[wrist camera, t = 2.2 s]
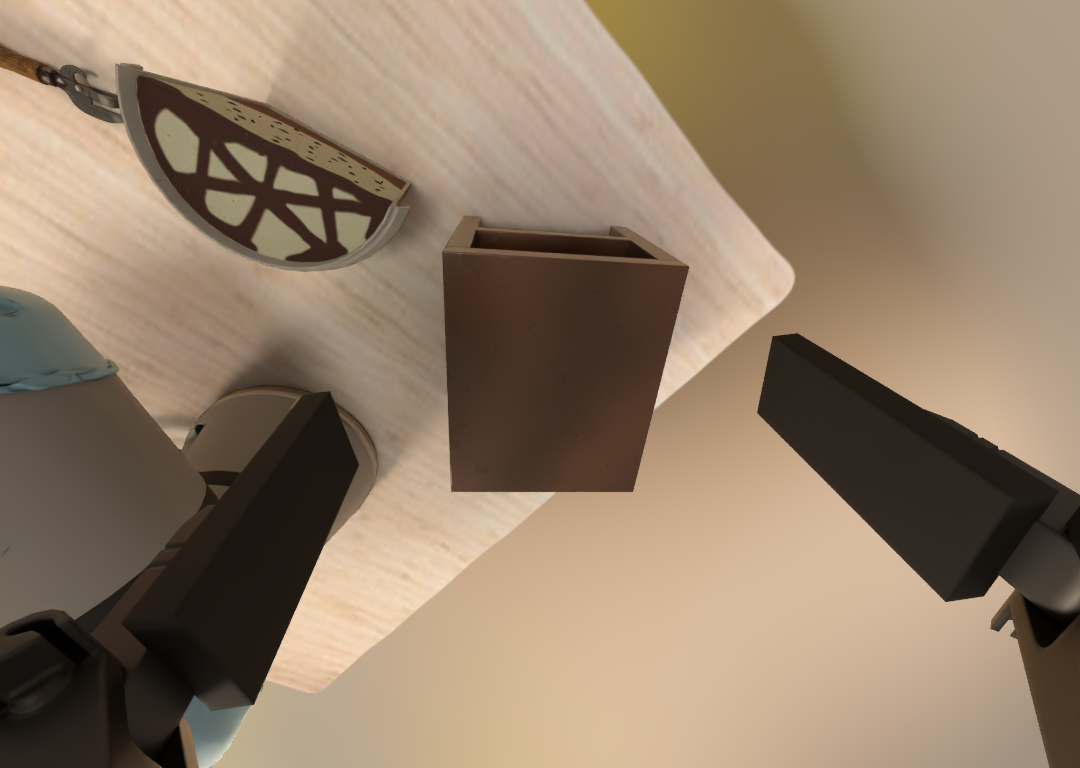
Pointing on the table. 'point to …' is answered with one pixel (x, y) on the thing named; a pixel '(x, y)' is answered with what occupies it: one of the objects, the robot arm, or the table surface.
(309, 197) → the food container
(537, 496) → the table surface
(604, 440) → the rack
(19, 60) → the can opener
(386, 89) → the table surface
